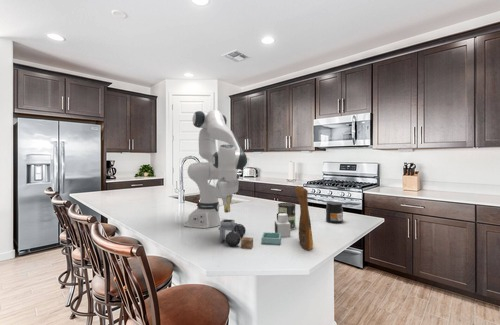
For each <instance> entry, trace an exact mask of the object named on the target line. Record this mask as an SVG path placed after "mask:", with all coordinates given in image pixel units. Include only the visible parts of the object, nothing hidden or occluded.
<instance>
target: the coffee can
mask: <svg viewBox="0 0 500 325" xmlns="http://www.w3.org/2000/svg"><path fill="white" fill-rule="evenodd" d="M277 208H278V209H277V213H280V212H285V213H287V214H288V222H289V223H290V231H292V230H293V231H294V230H296V203H293V202H280V203H278V204H277Z"/></svg>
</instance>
